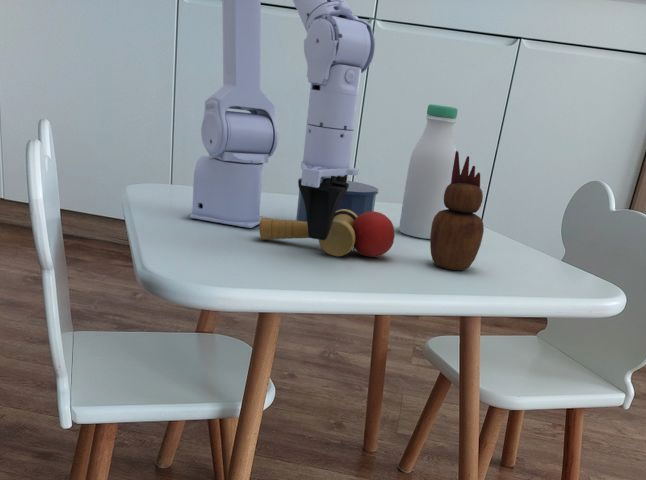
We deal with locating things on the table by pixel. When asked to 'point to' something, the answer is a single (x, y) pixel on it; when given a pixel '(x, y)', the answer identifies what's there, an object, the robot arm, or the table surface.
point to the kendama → (339, 232)
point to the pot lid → (356, 187)
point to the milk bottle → (429, 172)
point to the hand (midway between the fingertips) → (317, 238)
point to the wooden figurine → (458, 221)
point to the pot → (342, 205)
